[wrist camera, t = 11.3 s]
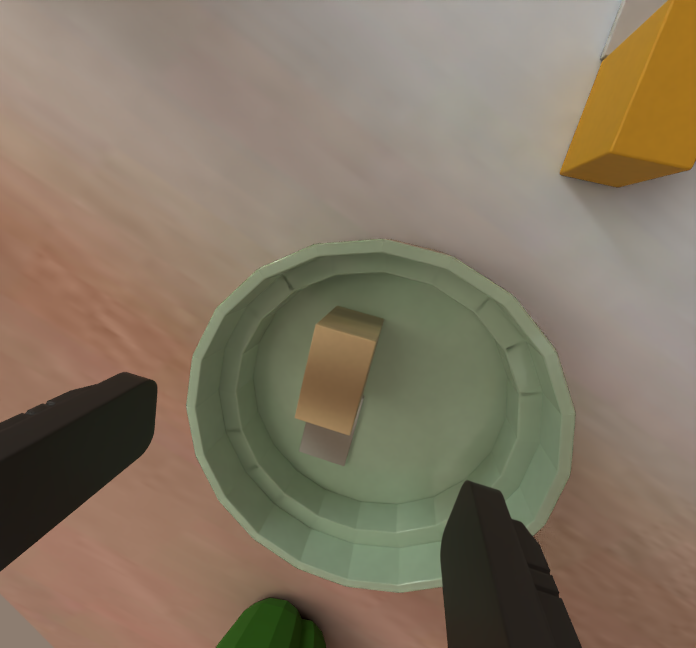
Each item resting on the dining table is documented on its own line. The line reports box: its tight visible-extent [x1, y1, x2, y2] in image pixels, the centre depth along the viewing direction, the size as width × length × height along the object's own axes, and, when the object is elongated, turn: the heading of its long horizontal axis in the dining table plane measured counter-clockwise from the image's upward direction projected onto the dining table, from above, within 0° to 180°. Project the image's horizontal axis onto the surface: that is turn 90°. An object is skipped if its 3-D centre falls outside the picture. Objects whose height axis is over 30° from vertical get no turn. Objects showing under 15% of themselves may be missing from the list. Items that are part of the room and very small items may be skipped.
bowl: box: [186, 239, 576, 593], centre depth 17 cm, size 17×17×5 cm
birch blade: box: [295, 306, 384, 466], centre depth 17 cm, size 9×3×4 cm, turn 166°
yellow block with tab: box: [560, 0, 696, 187], centre depth 12 cm, size 9×3×4 cm, turn 166°
